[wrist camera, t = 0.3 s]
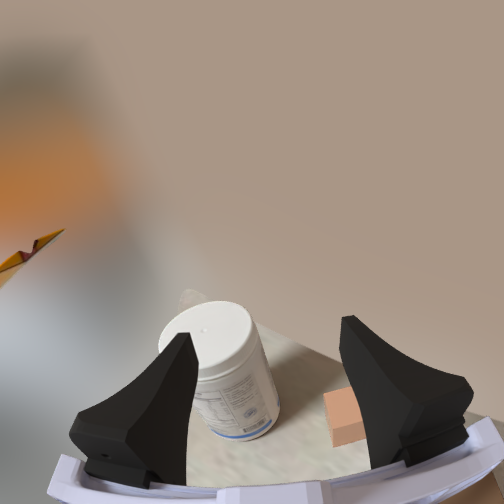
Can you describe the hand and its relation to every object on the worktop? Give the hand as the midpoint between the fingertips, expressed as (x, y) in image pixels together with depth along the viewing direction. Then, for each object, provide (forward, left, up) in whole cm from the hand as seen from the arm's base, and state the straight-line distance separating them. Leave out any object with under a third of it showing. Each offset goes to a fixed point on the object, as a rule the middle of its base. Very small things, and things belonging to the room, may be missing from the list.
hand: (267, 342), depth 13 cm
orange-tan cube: (+5, -6, -21) cm, 23 cm away
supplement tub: (+10, +6, -21) cm, 25 cm away
